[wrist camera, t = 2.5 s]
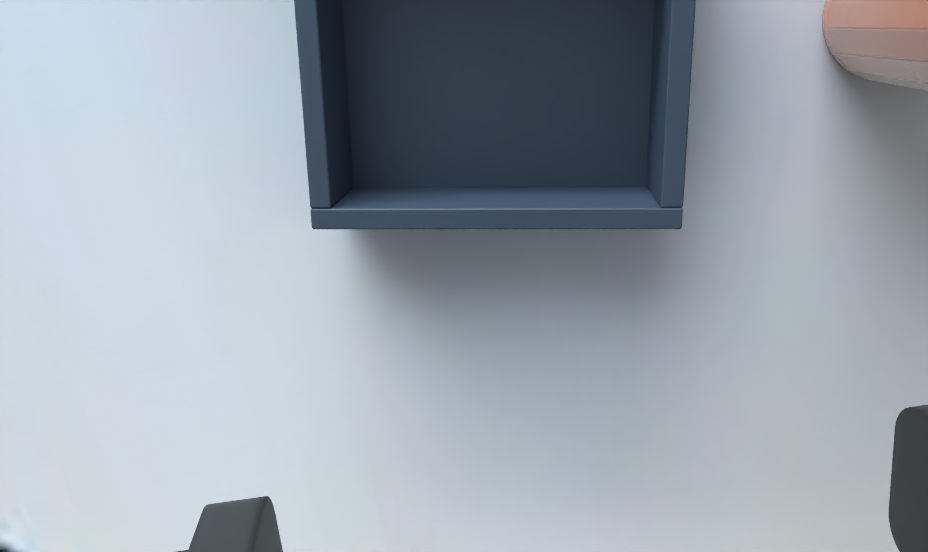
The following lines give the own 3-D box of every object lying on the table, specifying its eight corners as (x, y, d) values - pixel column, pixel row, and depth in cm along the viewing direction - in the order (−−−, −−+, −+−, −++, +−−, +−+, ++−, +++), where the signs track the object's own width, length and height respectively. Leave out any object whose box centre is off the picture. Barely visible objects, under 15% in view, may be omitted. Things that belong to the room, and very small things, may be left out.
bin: (319, -120, 31) (282, -144, 26) (679, -133, 30) (705, -161, 25) (340, 202, 35) (311, 229, 30) (661, 201, 34) (681, 229, 29)
